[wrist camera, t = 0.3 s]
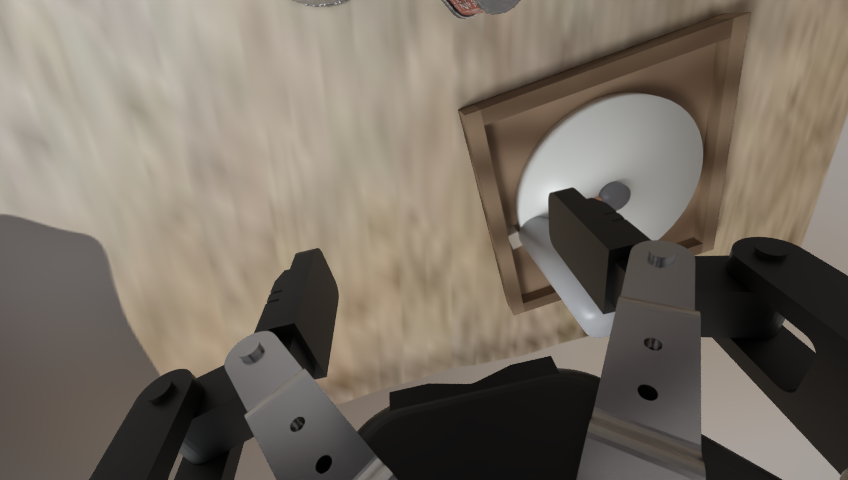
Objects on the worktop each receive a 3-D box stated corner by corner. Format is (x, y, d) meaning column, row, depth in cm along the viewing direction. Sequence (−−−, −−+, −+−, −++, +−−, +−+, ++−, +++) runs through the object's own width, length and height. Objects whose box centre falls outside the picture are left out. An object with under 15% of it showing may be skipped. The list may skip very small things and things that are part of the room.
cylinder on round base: (493, 135, 28) (570, 198, 17) (699, 61, 27) (913, 80, 16) (524, 284, 36) (589, 390, 25) (682, 231, 35) (817, 317, 25)
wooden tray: (458, 109, 27) (464, 115, 26) (723, 13, 26) (750, 12, 25) (506, 301, 38) (513, 315, 36) (696, 238, 37) (713, 249, 35)
